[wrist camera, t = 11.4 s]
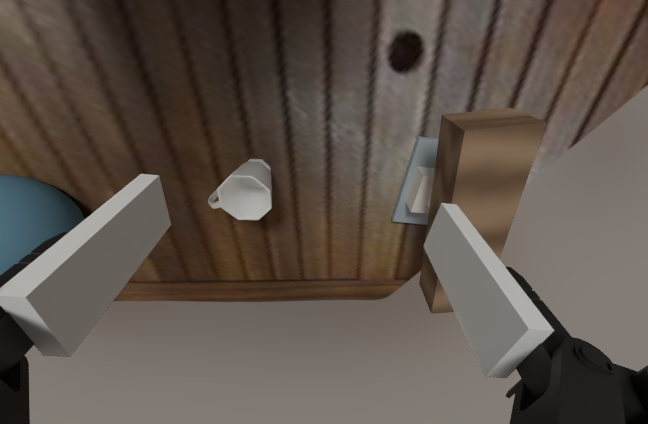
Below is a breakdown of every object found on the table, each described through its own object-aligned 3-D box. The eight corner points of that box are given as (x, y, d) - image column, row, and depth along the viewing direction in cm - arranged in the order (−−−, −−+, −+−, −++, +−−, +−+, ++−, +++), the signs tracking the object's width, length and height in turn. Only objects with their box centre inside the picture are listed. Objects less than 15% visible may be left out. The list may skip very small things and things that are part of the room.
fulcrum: (417, 136, 38) (437, 158, 31) (484, 144, 39) (518, 168, 32) (391, 217, 46) (403, 249, 39) (448, 223, 46) (469, 255, 40)
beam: (441, 115, 29) (464, 130, 24) (510, 107, 28) (546, 122, 24) (419, 283, 43) (431, 313, 38) (464, 279, 43) (482, 309, 38)
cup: (288, 183, 42) (282, 212, 35) (232, 203, 44) (215, 234, 37) (267, 142, 38) (256, 165, 32) (206, 165, 40) (183, 192, 34)
